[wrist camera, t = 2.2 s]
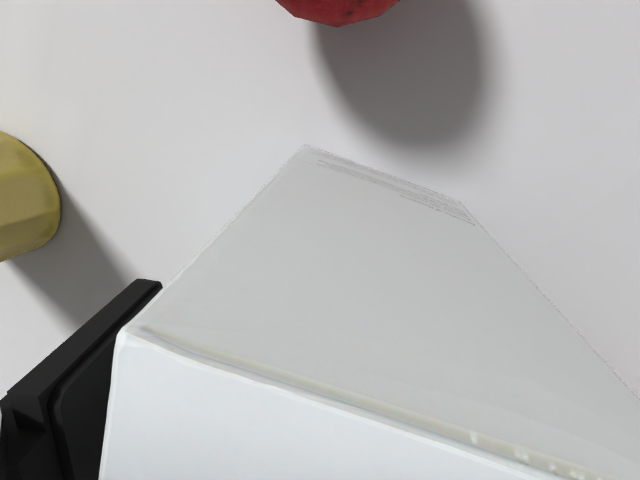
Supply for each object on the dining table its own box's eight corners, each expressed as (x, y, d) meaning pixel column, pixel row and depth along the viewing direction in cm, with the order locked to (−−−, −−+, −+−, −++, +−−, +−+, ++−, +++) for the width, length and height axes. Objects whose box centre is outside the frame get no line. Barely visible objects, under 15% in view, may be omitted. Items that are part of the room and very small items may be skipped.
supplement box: (301, 138, 15) (98, 307, 3) (464, 200, 15) (819, 559, 4) (255, 282, 18) (60, 644, 6) (392, 331, 18) (457, 763, 6)
